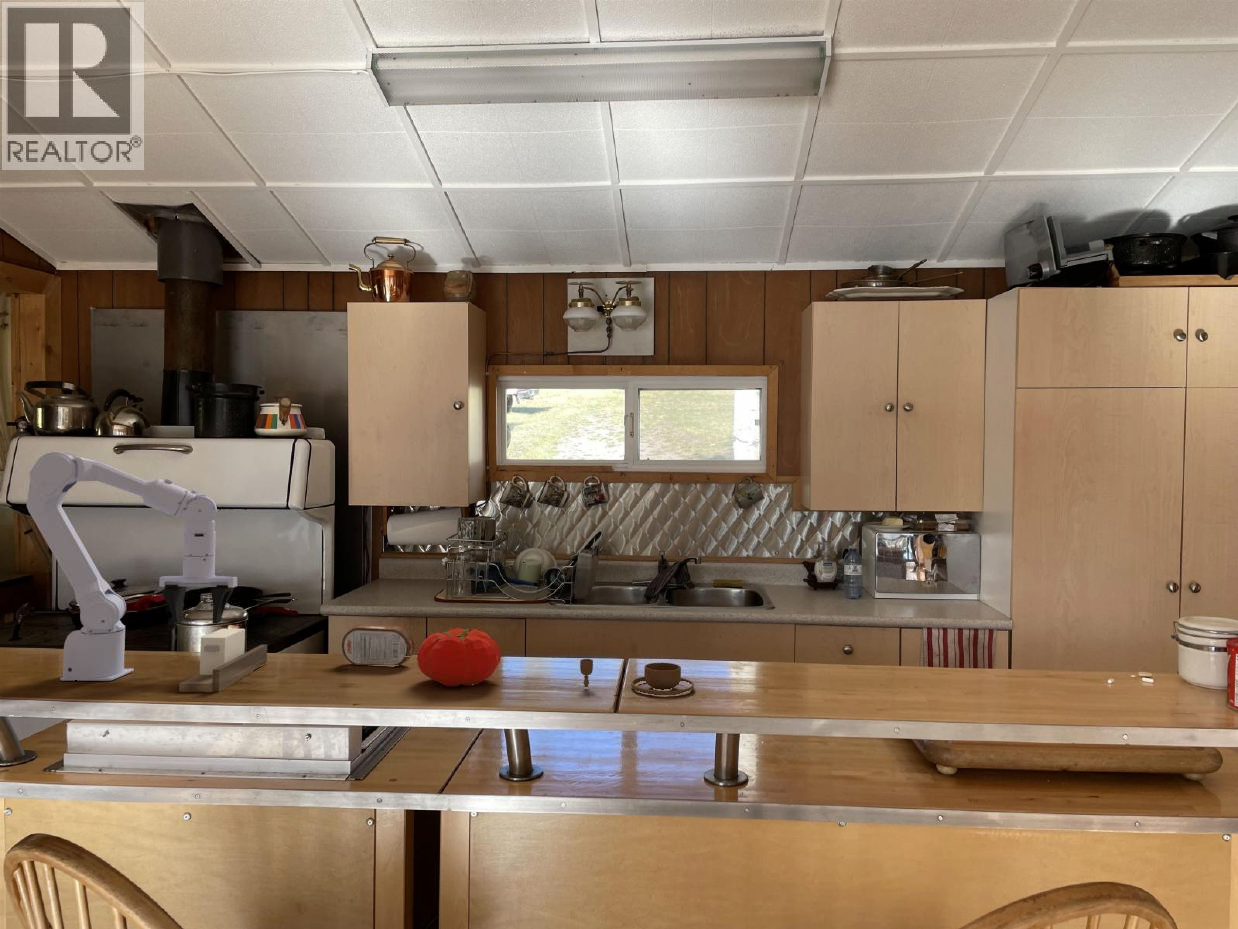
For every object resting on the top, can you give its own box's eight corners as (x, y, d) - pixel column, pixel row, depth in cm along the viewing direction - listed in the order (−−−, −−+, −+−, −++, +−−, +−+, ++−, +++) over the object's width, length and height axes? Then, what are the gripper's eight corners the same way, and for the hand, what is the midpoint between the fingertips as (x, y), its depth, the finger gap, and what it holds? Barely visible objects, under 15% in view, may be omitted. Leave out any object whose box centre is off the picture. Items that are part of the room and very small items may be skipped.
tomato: (441, 671, 163) (442, 622, 163) (513, 678, 157) (514, 628, 157) (400, 688, 149) (401, 634, 149) (477, 697, 144) (478, 641, 144)
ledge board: (179, 691, 144) (179, 669, 144) (232, 663, 166) (232, 644, 166) (218, 692, 144) (219, 669, 144) (266, 664, 166) (267, 644, 166)
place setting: (672, 708, 140) (672, 674, 140) (574, 693, 149) (574, 661, 150) (708, 686, 156) (708, 656, 156) (617, 673, 165) (617, 645, 165)
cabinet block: (197, 675, 149) (198, 638, 150) (221, 663, 159) (222, 628, 159) (222, 675, 150) (223, 638, 150) (244, 663, 159) (244, 628, 160)
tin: (414, 665, 167) (415, 625, 167) (409, 669, 164) (409, 628, 164) (345, 663, 169) (346, 623, 169) (339, 666, 165) (340, 625, 166)
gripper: (151, 556, 157) (150, 626, 156) (227, 557, 157) (225, 626, 157) (170, 553, 164) (168, 619, 163) (242, 554, 164) (240, 620, 164)
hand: (197, 622), depth 161 cm, fingers open, 7 cm apart
